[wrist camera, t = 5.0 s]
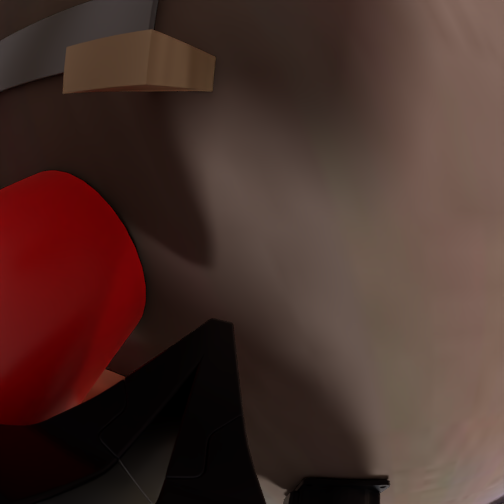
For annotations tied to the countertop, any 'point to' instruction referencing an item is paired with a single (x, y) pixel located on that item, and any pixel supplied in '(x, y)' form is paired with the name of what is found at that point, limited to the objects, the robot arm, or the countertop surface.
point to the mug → (61, 294)
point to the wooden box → (104, 62)
